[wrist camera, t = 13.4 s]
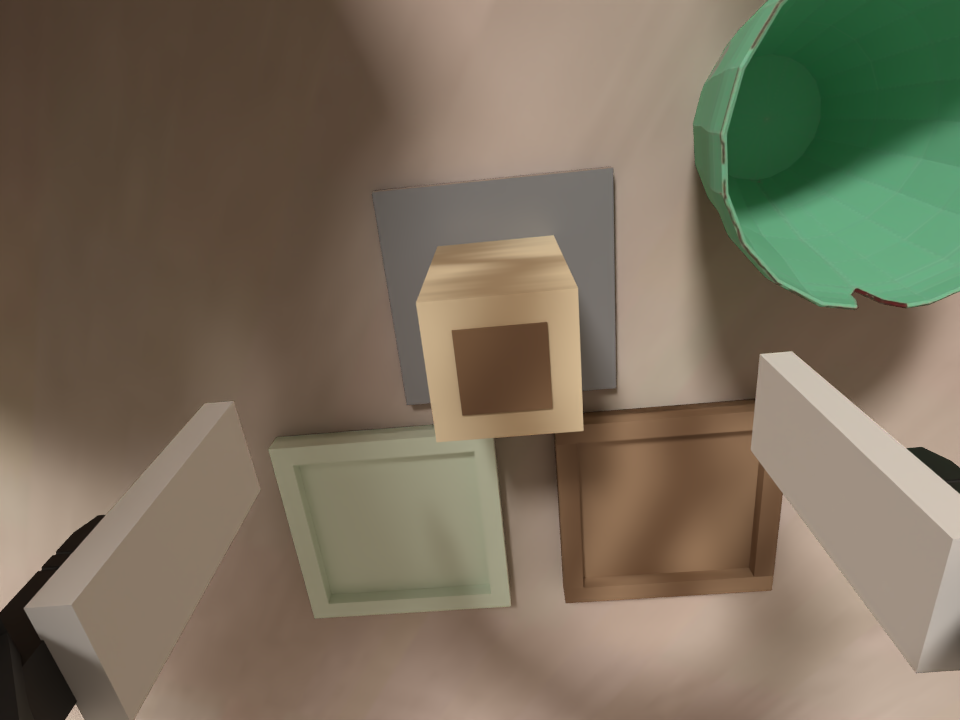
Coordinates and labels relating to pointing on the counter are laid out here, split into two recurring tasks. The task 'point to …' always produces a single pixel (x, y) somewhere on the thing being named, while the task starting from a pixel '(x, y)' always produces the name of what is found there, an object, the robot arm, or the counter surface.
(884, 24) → the mug
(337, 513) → the tray sage
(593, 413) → the tray walnut
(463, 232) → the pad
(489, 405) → the letter block
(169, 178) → the counter surface
